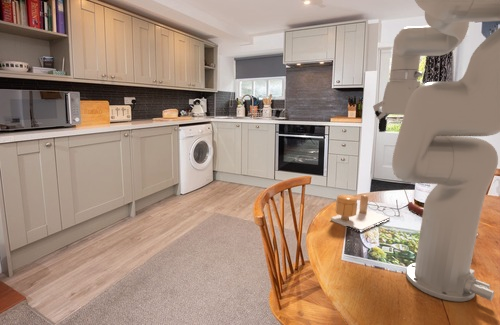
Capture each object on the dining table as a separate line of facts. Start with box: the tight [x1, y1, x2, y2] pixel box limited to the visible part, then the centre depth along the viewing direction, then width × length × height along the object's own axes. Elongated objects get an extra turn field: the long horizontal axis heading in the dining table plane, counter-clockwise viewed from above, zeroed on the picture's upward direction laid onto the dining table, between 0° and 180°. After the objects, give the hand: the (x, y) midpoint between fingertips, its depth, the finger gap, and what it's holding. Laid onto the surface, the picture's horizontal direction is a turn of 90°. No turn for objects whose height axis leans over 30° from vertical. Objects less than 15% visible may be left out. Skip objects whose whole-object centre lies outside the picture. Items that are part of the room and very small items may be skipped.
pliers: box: [407, 201, 424, 217], centre depth 98 cm, size 12×20×3 cm, turn 165°
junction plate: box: [330, 194, 390, 230], centre depth 95 cm, size 11×16×7 cm
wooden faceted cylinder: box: [335, 194, 358, 217], centre depth 93 cm, size 6×6×5 cm
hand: (396, 133), depth 93 cm, fingers open, 9 cm apart
